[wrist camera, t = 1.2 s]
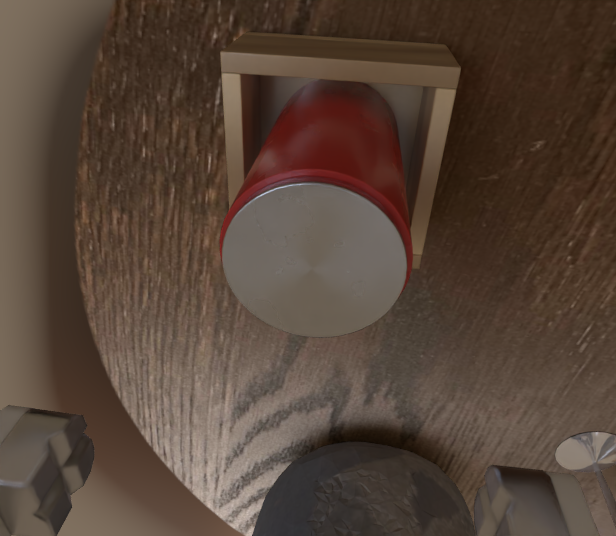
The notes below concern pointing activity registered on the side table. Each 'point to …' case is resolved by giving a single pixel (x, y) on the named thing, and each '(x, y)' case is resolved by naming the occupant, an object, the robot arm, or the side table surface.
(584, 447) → the wineglass
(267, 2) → the side table surface
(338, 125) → the can
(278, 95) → the holder
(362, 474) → the dark grey metal pot
